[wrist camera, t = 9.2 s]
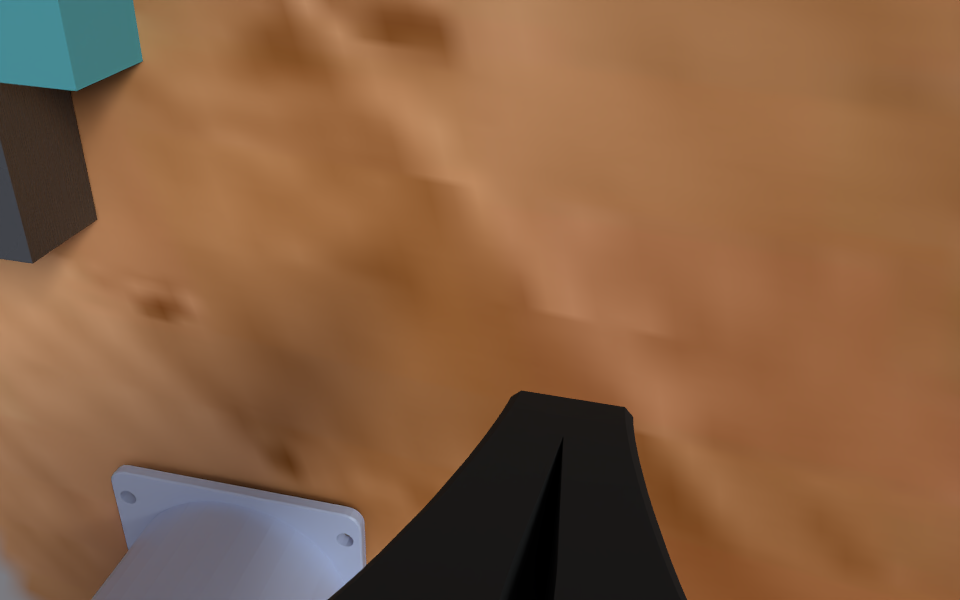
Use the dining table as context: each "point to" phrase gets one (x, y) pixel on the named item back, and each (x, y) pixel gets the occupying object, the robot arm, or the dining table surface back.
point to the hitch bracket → (40, 172)
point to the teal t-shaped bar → (66, 41)
